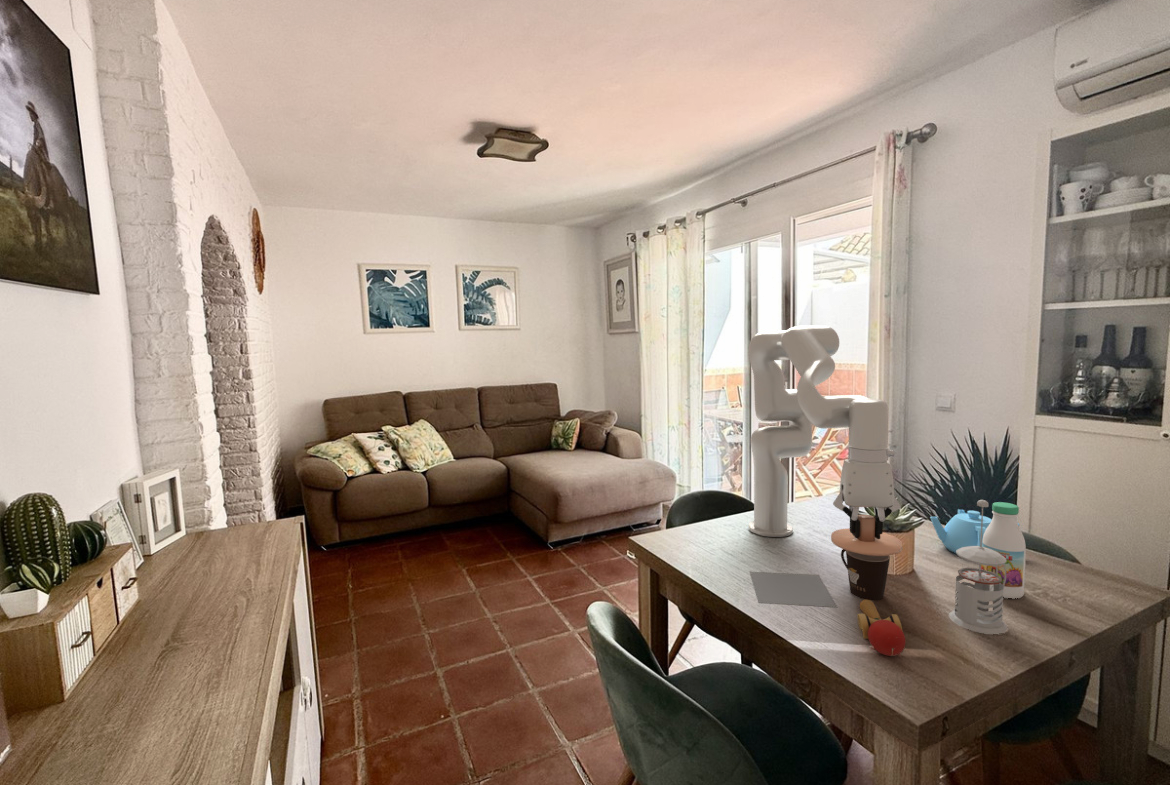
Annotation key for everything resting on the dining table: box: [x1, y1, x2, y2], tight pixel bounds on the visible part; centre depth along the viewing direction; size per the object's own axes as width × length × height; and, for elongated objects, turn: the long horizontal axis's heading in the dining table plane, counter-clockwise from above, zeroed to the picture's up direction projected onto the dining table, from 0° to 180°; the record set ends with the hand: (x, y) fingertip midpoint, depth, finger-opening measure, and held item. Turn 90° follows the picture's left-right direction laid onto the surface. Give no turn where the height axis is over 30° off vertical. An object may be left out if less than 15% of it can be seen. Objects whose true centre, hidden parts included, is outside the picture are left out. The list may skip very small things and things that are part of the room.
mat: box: [749, 570, 839, 608], centre depth 122 cm, size 16×16×1 cm
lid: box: [830, 514, 903, 556], centre depth 119 cm, size 14×14×6 cm
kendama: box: [857, 599, 907, 657], centre depth 104 cm, size 8×6×18 cm
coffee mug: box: [840, 548, 891, 601], centre depth 120 cm, size 12×9×10 cm
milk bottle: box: [981, 501, 1027, 600], centre depth 119 cm, size 8×8×20 cm
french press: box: [948, 499, 1009, 635], centre depth 107 cm, size 10×12×25 cm
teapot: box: [929, 508, 1020, 555], centre depth 143 cm, size 15×15×11 cm
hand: (865, 535), depth 119 cm, fingers closed on lid, 3 cm apart
